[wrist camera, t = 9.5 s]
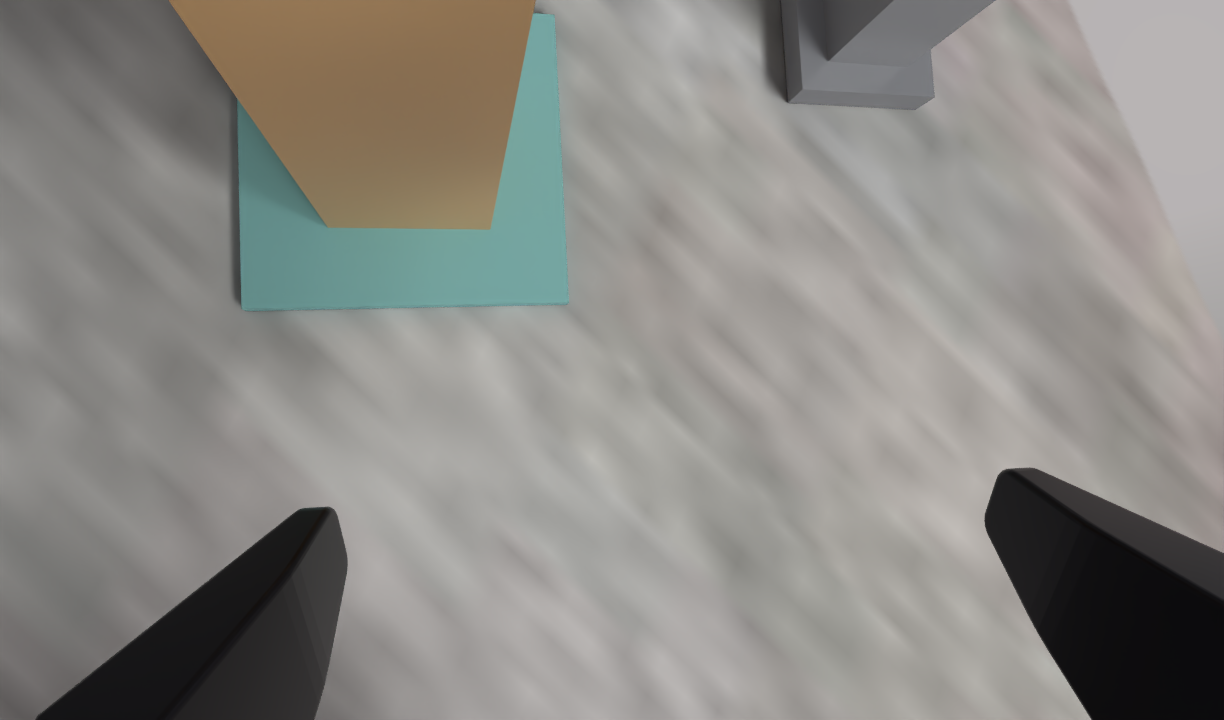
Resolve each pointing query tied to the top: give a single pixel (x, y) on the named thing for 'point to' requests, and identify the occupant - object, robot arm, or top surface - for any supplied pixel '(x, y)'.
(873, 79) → the post
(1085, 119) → the top surface
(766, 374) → the top surface
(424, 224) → the bottle
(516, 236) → the mat
